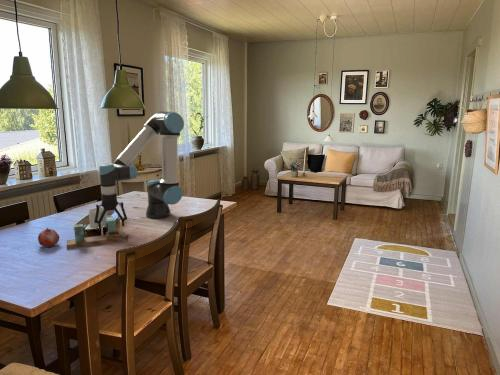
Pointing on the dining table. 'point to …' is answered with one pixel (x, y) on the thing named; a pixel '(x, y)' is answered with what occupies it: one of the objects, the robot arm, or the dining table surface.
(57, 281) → the dining table surface
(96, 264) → the dining table surface
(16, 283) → the dining table surface
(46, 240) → the fruit
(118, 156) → the robot arm
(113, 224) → the teal rectangular block
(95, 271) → the dining table surface
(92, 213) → the grey rounded block
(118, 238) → the rail
